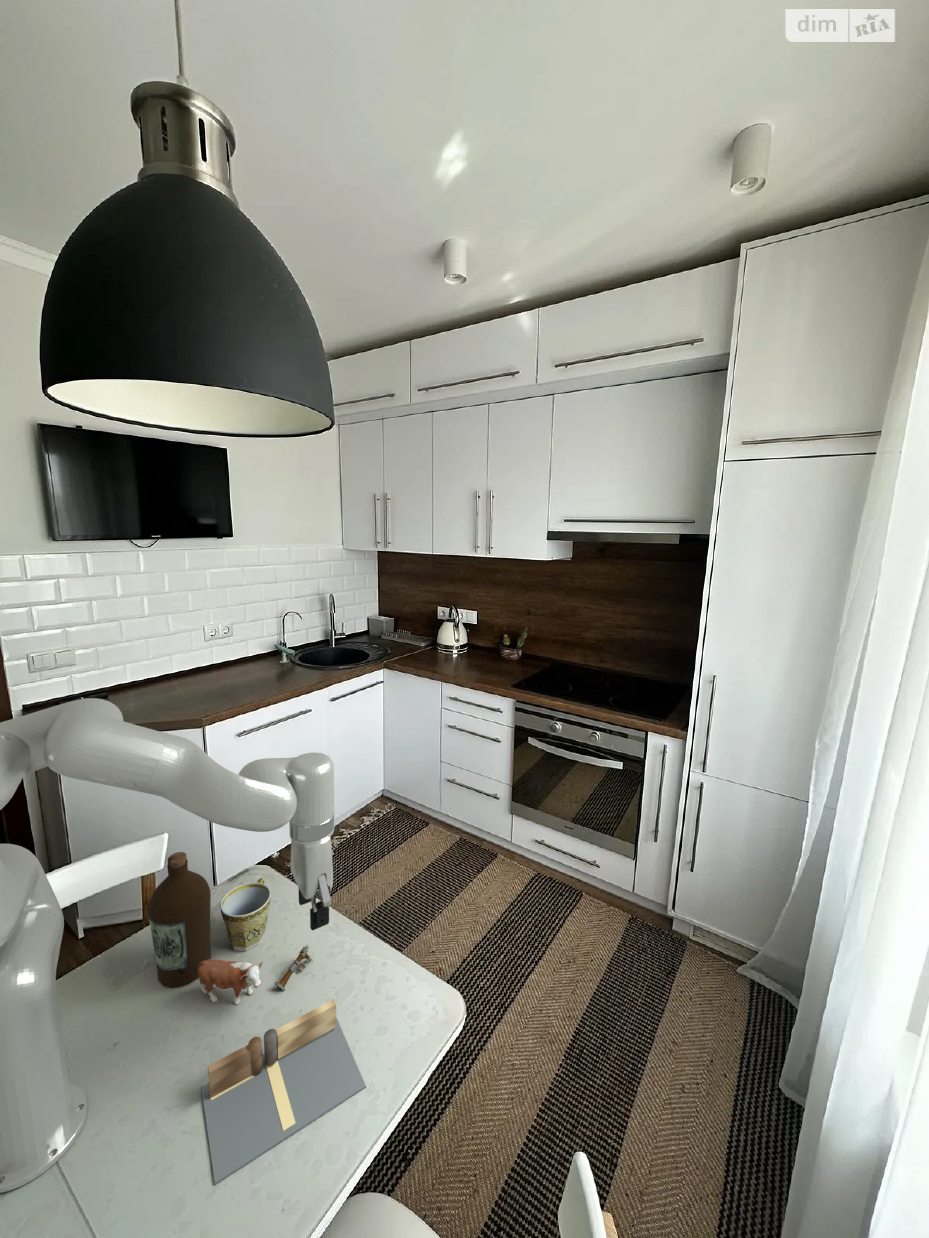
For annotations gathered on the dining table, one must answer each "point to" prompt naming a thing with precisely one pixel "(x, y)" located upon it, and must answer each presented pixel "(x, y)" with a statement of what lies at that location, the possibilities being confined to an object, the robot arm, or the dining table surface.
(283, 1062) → the card
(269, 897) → the ceramic cup
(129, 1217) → the dining table surface
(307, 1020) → the tan wooden board
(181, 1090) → the dining table surface
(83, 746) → the robot arm
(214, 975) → the bull figurine
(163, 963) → the olive oil
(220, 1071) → the fence section
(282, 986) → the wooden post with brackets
